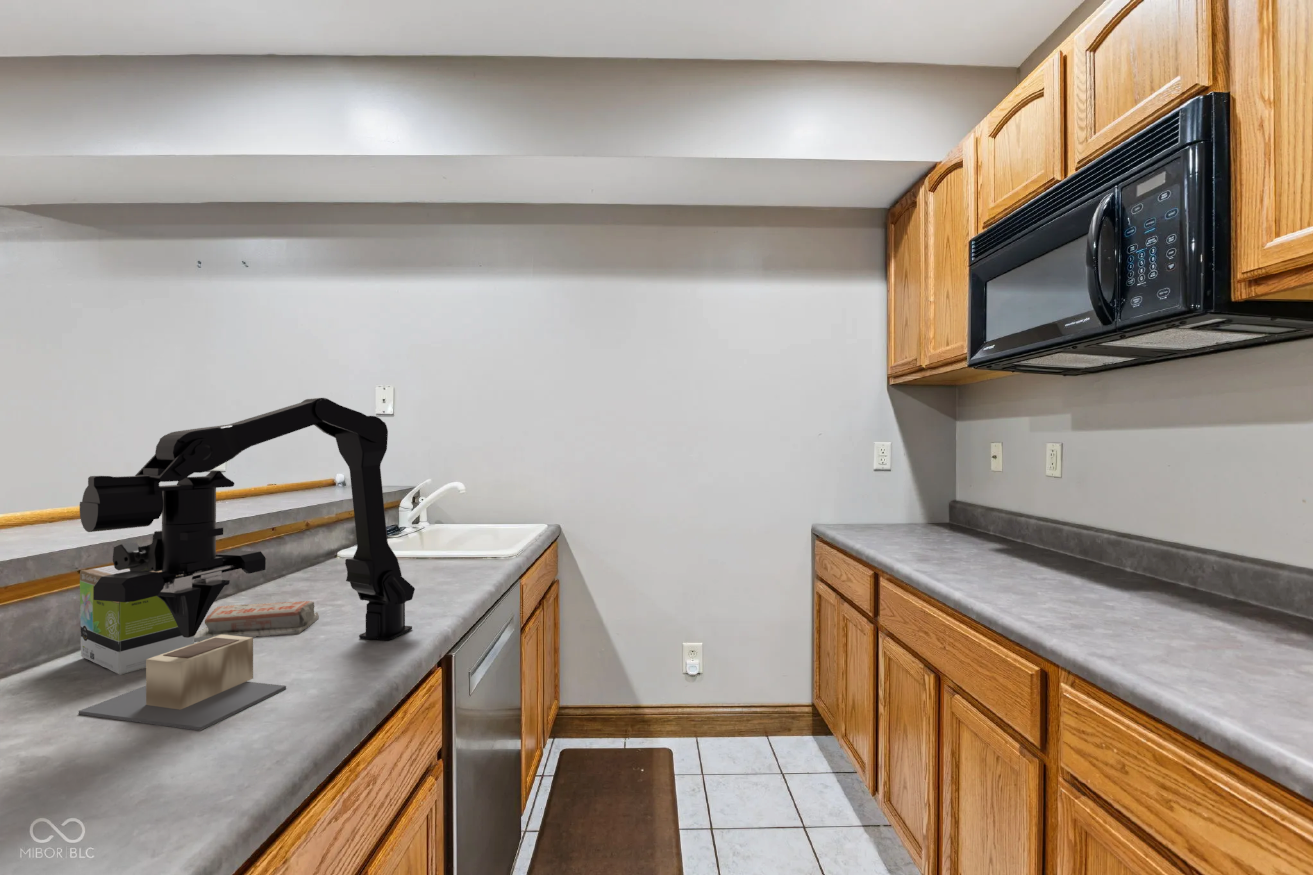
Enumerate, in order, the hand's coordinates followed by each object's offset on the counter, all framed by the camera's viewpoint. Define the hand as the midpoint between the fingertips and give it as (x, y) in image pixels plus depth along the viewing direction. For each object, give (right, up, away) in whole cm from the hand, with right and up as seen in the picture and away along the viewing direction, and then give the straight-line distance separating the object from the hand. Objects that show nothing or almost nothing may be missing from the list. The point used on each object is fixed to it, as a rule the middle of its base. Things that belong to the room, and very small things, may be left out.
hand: (188, 636), depth 77 cm
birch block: (+2, -5, +7) cm, 9 cm away
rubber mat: (0, -9, 0) cm, 9 cm away
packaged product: (-12, -10, +30) cm, 33 cm away
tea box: (-22, -9, +16) cm, 29 cm away
